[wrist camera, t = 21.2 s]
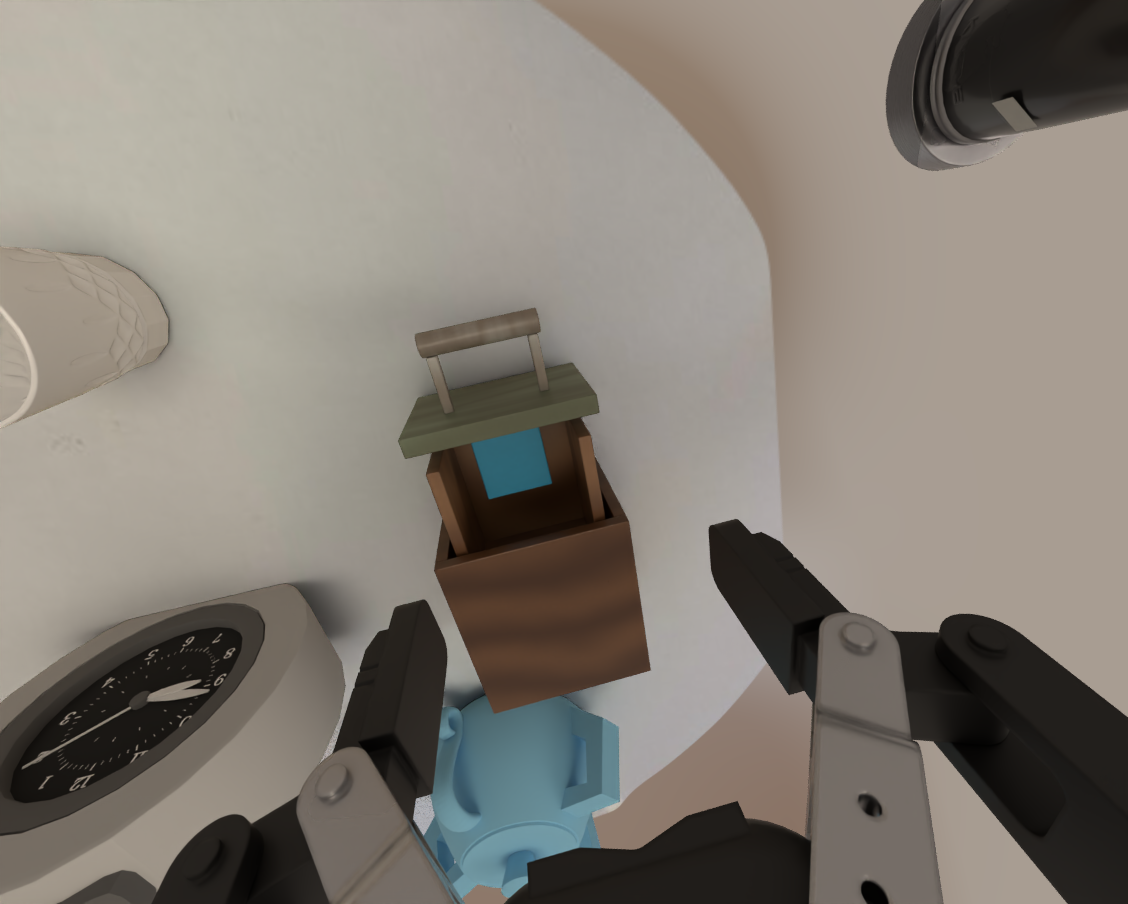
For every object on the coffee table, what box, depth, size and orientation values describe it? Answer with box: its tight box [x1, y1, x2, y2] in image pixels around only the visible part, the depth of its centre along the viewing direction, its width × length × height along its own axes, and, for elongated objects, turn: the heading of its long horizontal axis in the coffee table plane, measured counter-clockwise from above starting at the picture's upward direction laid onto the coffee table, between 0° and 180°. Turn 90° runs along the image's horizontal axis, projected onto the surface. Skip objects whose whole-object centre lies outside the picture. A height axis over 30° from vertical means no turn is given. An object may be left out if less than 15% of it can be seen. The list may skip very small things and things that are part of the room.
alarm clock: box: [0, 584, 346, 904], centre depth 29 cm, size 21×8×20 cm, turn 99°
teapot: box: [424, 695, 620, 898], centre depth 43 cm, size 19×19×14 cm
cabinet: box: [434, 458, 651, 714], centre depth 35 cm, size 15×13×10 cm
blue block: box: [471, 427, 552, 499], centre depth 30 cm, size 4×4×4 cm
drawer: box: [398, 308, 606, 557], centre depth 30 cm, size 18×11×8 cm, turn 11°
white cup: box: [0, 247, 169, 429], centre depth 22 cm, size 8×8×10 cm
